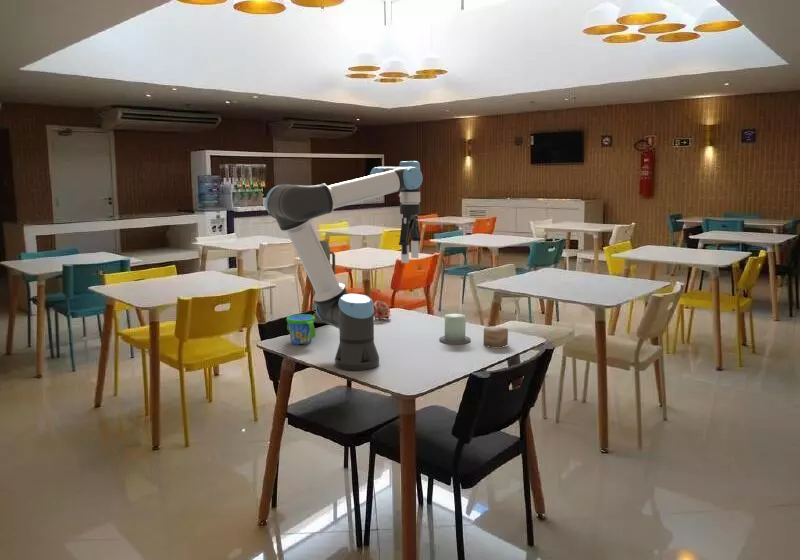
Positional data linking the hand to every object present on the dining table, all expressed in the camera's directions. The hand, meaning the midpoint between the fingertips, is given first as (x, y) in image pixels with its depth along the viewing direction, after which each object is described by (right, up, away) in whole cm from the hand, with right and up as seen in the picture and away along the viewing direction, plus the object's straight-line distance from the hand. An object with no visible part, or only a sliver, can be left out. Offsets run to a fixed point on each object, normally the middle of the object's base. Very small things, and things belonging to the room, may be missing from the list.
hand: (410, 260), depth 245 cm
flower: (-12, -25, +43) cm, 51 cm away
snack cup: (-42, -32, +5) cm, 53 cm away
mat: (+17, -31, +8) cm, 36 cm away
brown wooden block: (+32, -32, +1) cm, 45 cm away
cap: (+17, -30, +8) cm, 36 cm away
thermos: (-38, -25, +40) cm, 61 cm away
